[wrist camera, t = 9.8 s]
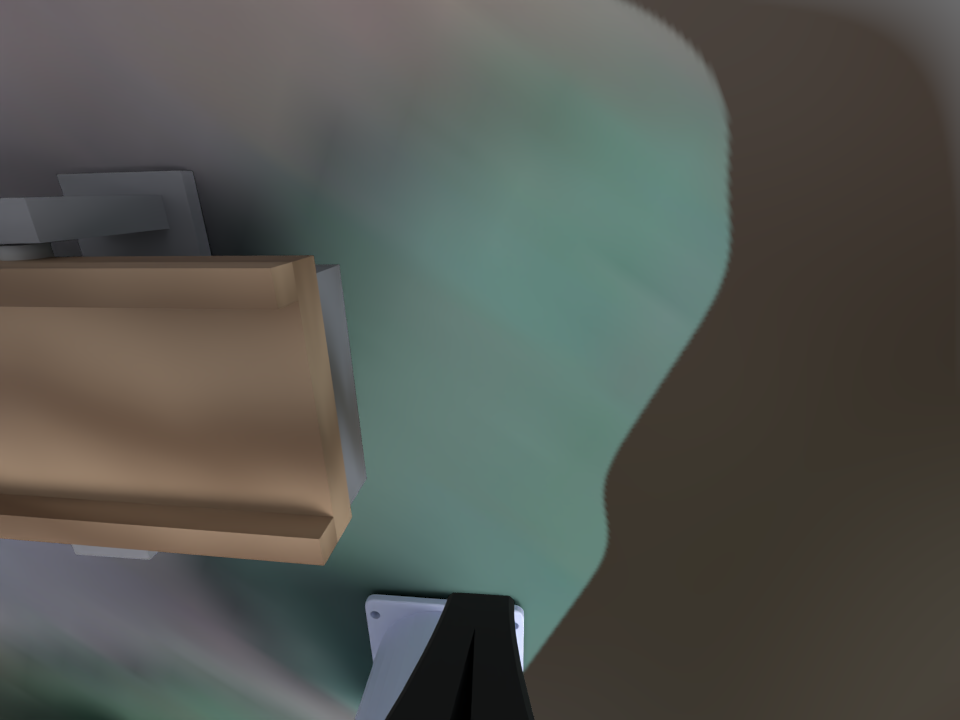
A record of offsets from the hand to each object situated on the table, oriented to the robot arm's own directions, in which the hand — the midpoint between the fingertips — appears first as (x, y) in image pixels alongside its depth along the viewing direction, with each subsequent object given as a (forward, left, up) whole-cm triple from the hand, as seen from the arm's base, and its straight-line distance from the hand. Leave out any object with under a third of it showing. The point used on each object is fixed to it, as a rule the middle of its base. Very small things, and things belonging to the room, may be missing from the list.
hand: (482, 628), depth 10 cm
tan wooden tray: (+3, +16, -7) cm, 18 cm away
